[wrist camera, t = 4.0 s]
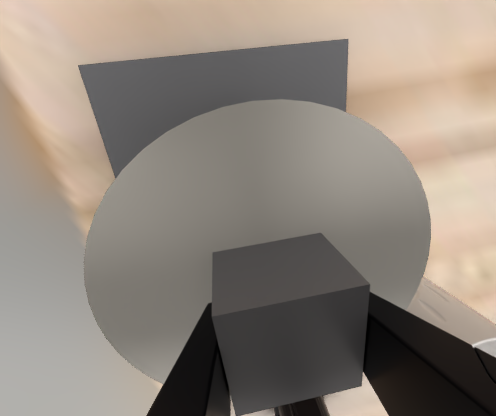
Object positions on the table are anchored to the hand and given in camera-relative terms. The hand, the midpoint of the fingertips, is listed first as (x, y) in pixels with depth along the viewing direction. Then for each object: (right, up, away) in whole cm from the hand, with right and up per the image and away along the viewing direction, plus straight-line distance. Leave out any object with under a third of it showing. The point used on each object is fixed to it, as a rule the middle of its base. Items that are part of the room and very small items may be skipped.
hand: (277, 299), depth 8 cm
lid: (0, +1, +1) cm, 1 cm away
